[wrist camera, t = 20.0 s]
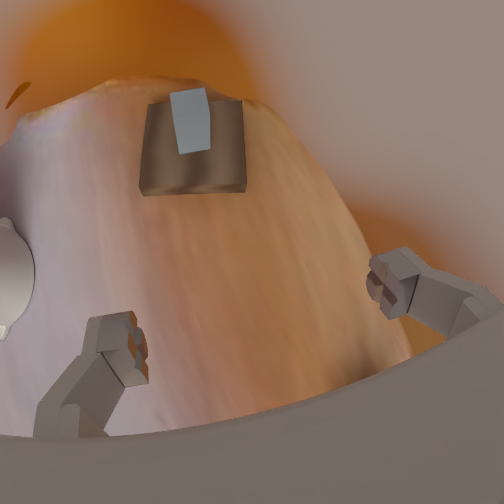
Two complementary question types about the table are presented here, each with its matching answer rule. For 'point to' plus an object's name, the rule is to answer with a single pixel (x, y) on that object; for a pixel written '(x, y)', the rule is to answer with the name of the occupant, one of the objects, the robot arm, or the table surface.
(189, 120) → the slate block
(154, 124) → the walnut plinth
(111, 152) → the table surface
